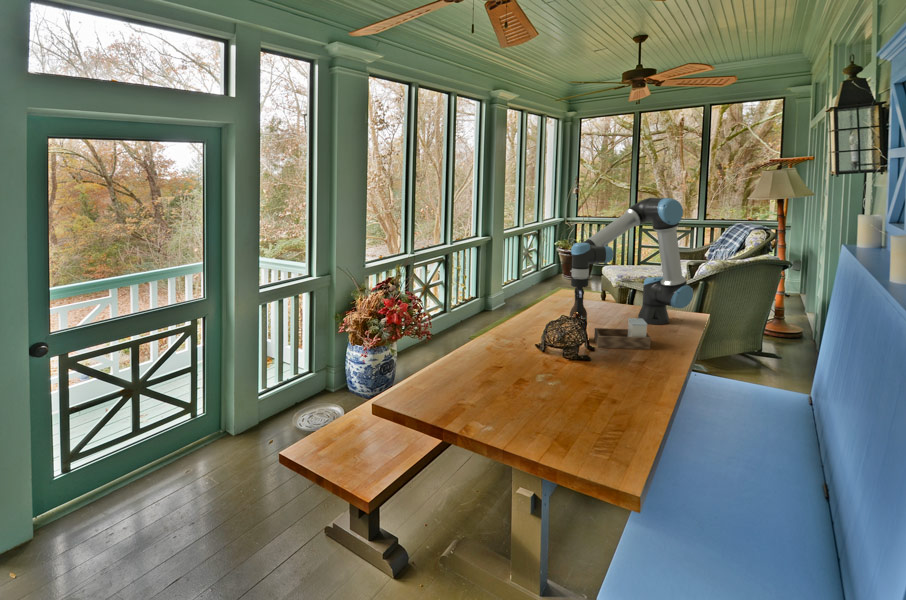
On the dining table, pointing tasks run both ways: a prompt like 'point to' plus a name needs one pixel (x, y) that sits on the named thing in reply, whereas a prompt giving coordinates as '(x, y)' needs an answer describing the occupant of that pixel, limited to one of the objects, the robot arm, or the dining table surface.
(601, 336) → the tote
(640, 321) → the carton
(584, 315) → the beer bottle
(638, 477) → the dining table surface
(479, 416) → the dining table surface
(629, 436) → the dining table surface
